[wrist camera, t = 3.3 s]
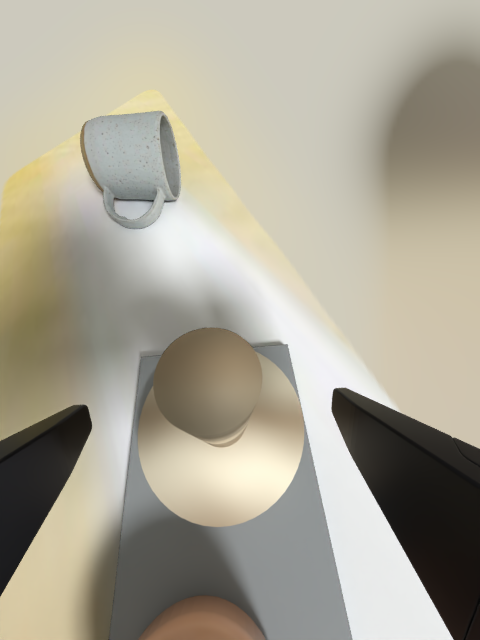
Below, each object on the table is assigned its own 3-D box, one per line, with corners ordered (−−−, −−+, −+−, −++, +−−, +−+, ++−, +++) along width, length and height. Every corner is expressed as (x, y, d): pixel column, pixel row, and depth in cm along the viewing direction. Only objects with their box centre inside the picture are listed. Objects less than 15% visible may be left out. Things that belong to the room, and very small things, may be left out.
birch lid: (319, 506, 13) (489, 603, 4) (135, 537, 12) (-102, 731, 4) (281, 343, 18) (326, 239, 9) (149, 357, 17) (64, 257, 9)
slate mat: (393, 846, 9) (403, 871, 8) (83, 921, 8) (72, 954, 7) (285, 347, 18) (287, 344, 18) (144, 359, 18) (141, 356, 17)
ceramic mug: (119, 175, 30) (86, 96, 23) (183, 176, 30) (168, 98, 23) (97, 233, 25) (46, 153, 18) (174, 233, 25) (152, 154, 18)
